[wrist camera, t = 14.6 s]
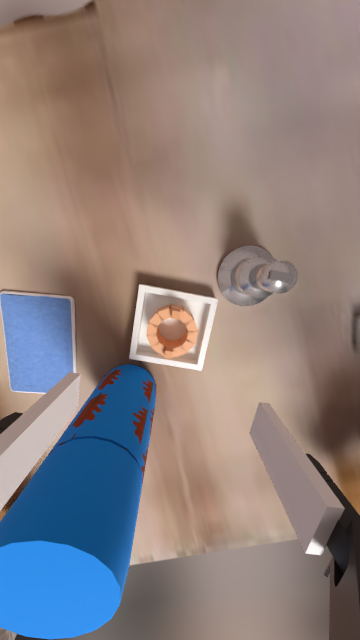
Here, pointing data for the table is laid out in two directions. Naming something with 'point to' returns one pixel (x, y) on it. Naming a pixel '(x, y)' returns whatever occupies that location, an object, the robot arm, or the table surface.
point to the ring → (170, 346)
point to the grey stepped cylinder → (254, 275)
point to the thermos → (79, 515)
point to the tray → (172, 325)
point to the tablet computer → (38, 339)
